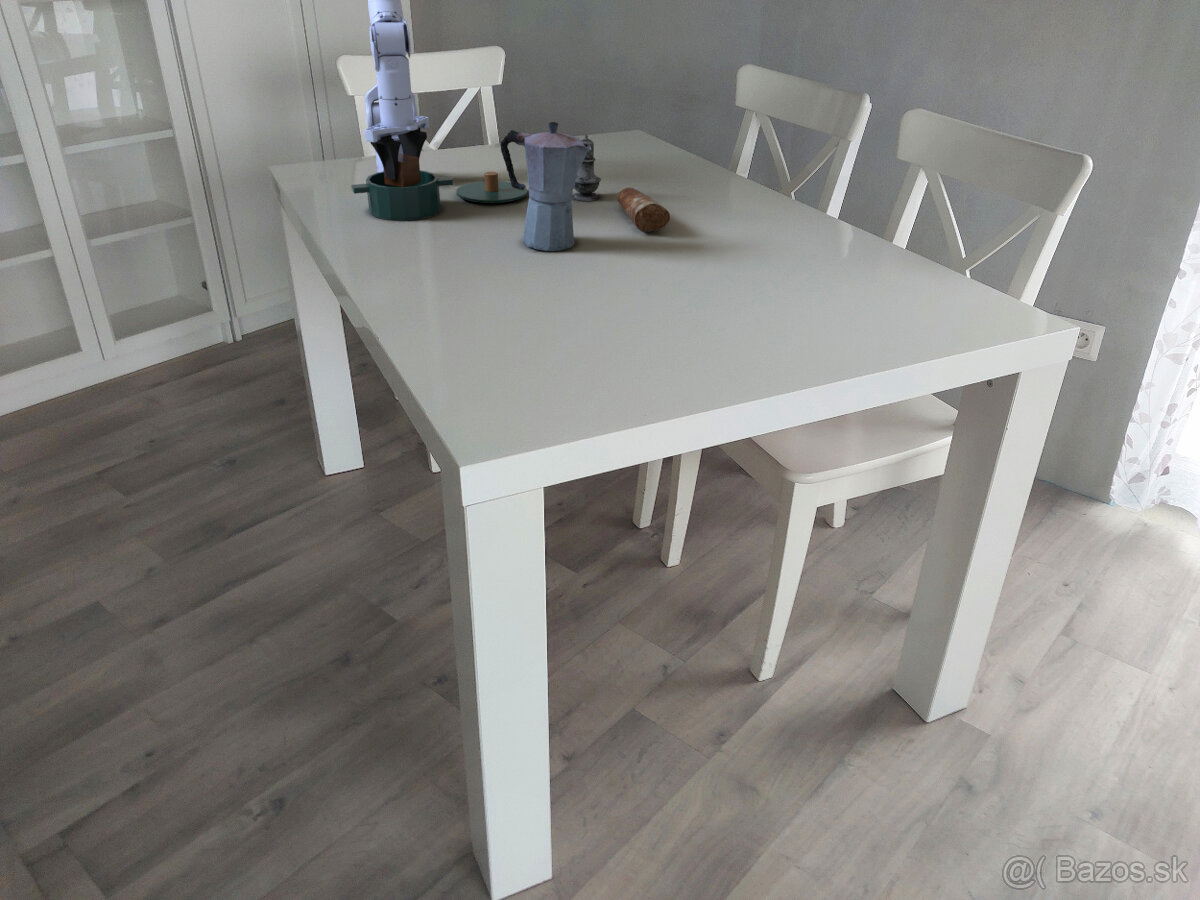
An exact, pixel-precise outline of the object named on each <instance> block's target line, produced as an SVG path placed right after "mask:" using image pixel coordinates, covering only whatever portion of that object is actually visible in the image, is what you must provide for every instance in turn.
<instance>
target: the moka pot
mask: <svg viewBox="0 0 1200 900" xmlns="http://www.w3.org/2000/svg"><path fill="white" fill-rule="evenodd" d="M558 128H559V122H555V121H550V122H549V123H548V130H549V131H543V132H536V133H533V134H530V133H528V132H519V131H516V130H513V129H511V130H510V131H509V132H507V135H505V136H504V137H503V139H501V141H500V152H501V155H502V158H503V161H504V163H505V168H506V171H507V173H508V178H509V182H511V185H512V187H513V188H517V189H519V190H524V189H525V187H526V188H527V186H526V185H525V184H524V183H519V181H518V180H517V179H518V178H517V176H516V175H515V170H514V169H515V168H514V164H513V161H512V158H511V153H510V150H509V147H508V146H509V144H510V143H512V142H513V143H515V144H516V145H518V146H523V147H524V151H525V162H526V173H527V174H526V175H527V182H528V196H529V197H528V201H527V202H528V203H527V208H526V214H525V221H524V227H523V235H522V243H523V244H524V245H525V246H527V247H529V248H531V249H533V250H538V251H545V252H557V251H558V252H560V251H561V252H562V251H566V250H568V249H570V248H572V247H573V246H574V245H575V233H574V221H573V220H574V219H573V206H572V199H573V198H572V196H573V190H575V189H574V187H575V182H576V176H577V172H578V170H579V169H580V167H581V164H582V162H583V160H584V158H585V156H586V154H587V153H588V151H590V150H592V149H591V147H590V146H589V145H588V144H587V143H585V142H583V141H581V140H580V137H578V136H575V135H571V134H566V133H563V132H558Z"/></svg>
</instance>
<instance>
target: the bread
mask: <svg viewBox="0 0 1200 900" xmlns="http://www.w3.org/2000/svg"><path fill="white" fill-rule="evenodd" d="M616 201H617V203H618V205H620V207H621V208H622V210H623V212H624V213H626V215H627V216H628V218H630V220H631V221H632V223H633V224H634V226H635V227H636V228H637V230H639V231H641V232H644V233H648V232H656V231H660V230H661V229H663V228H665V227H666V226H667V224H668V223H669V221H670V220H671V214H670V212H669V211H668V209H667V208H665V207H664V206H663V205H662V203H659V202H658V201H656V200H655V199H653V198H652V197H651V196H649V195H646V194H645V193H643V192H642V191H640V190H639V189H635V188H634V187H624V188H623V189H621V190H619V192H618V193H617V197H616Z"/></svg>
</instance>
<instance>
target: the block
mask: <svg viewBox="0 0 1200 900" xmlns="http://www.w3.org/2000/svg"><path fill="white" fill-rule="evenodd" d="M383 169H384V167H383ZM420 170H421V169H420V158H419V157H415V156H410V155H405V154H399V155H398V179H396V180H394V179H389V178H387V176H386V173H385V170H384V179H385V184H388V185H392V186H397V187H408V186H411V185H415V184H418V183H421V178H420Z"/></svg>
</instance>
